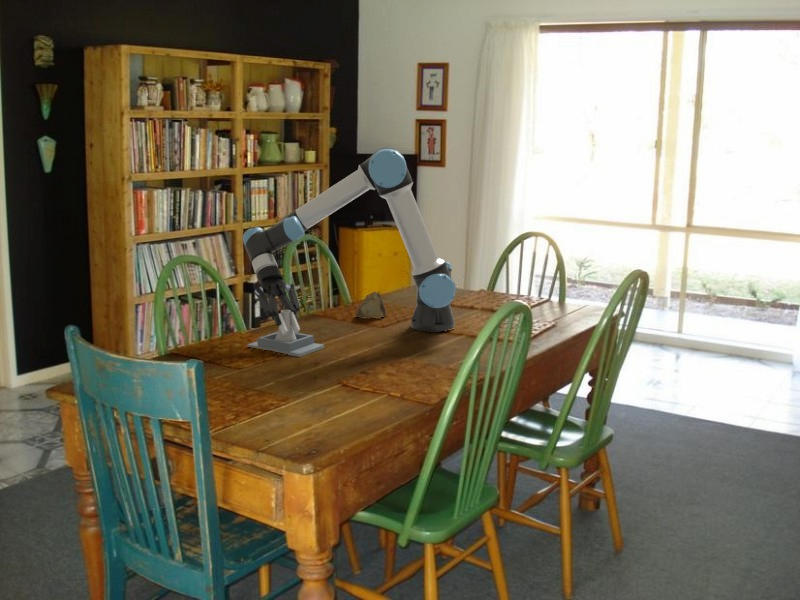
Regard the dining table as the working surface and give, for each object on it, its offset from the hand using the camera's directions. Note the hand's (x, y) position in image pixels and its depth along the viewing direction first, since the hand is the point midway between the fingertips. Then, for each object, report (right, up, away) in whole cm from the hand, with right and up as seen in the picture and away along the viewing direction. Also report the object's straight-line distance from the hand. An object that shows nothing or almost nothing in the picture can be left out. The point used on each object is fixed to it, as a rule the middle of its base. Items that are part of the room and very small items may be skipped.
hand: (291, 332), depth 282 cm
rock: (+23, +3, +49) cm, 54 cm away
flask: (-2, -3, +4) cm, 6 cm away
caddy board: (-2, -5, +4) cm, 7 cm away
